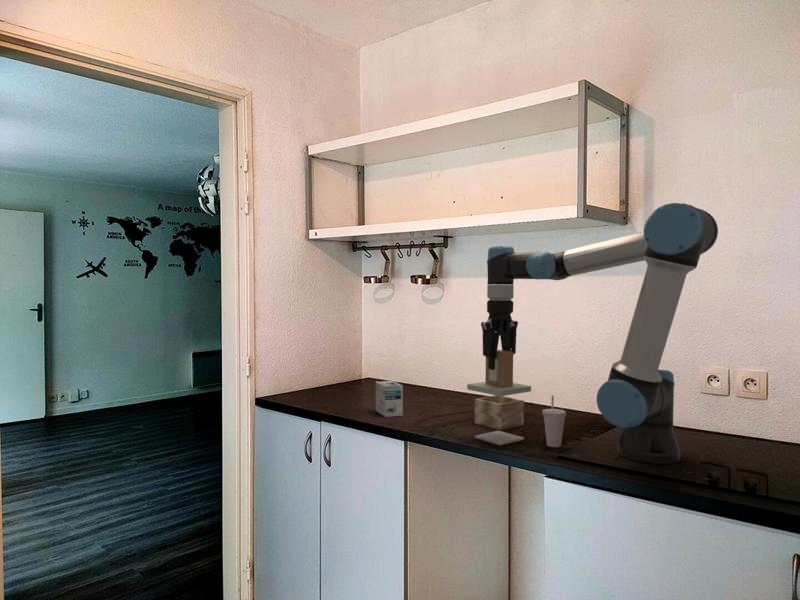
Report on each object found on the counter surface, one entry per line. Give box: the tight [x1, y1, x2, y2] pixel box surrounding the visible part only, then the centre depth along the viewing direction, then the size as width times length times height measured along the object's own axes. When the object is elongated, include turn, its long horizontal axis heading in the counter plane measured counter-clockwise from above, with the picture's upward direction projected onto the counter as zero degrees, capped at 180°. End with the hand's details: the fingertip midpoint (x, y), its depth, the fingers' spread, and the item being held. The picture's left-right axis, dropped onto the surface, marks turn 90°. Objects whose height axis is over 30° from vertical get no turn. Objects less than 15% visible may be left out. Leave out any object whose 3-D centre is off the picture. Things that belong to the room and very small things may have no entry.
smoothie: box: [541, 395, 567, 448], centre depth 158 cm, size 6×6×14 cm
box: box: [474, 395, 525, 431], centre depth 182 cm, size 11×11×8 cm
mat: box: [474, 430, 525, 446], centre depth 165 cm, size 10×10×1 cm
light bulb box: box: [375, 380, 404, 418], centre depth 197 cm, size 11×7×11 cm, turn 22°
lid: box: [466, 349, 532, 397], centre depth 164 cm, size 13×13×12 cm
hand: (499, 379), depth 164 cm, fingers closed on lid, 4 cm apart
